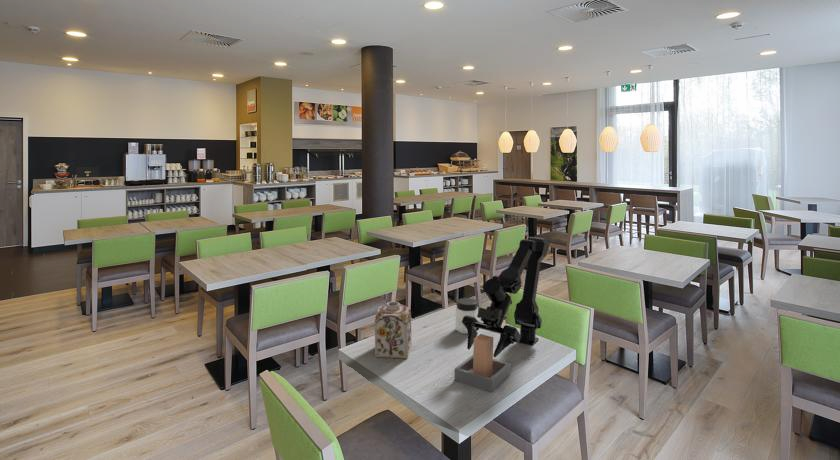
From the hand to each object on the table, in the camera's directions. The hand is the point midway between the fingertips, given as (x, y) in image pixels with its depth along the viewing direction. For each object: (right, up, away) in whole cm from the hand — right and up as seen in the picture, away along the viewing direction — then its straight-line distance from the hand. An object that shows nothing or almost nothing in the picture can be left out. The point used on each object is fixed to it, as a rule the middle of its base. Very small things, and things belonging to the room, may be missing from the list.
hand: (481, 352), depth 144 cm
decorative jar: (-28, -5, +22) cm, 36 cm away
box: (+1, -9, +3) cm, 9 cm away
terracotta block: (+1, -8, +2) cm, 8 cm away
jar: (0, -2, +41) cm, 41 cm away
